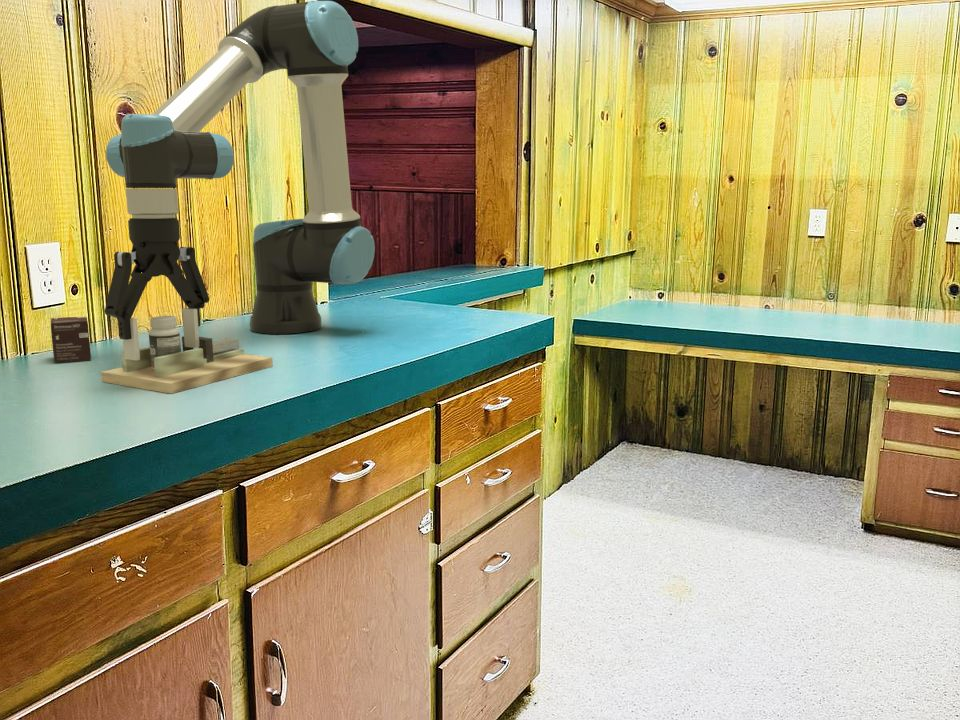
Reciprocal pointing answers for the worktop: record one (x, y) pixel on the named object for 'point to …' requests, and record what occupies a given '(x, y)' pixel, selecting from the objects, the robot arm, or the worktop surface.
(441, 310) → the worktop surface
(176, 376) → the mount
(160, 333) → the pill bottle
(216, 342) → the pin
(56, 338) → the box
